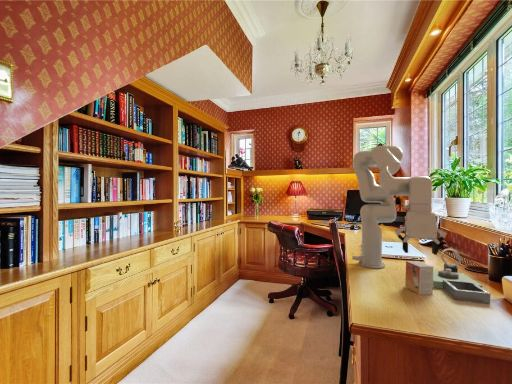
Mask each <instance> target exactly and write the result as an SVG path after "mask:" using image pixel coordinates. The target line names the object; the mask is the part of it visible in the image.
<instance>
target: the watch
mask: <svg viewBox="0 0 512 384" xmlns="http://www.w3.org/2000/svg"><path fill="white" fill-rule="evenodd" d="M447 251H452V254H453V255H454V257H455V258H456V259H457V262H456V263H454V264H452V263H447V260H445V259H444V255H443V254H444V252H447ZM440 258H441V261H443V271H445V269H446V268H447V269H451V272H455V273H459V271H458V266H459V265H460V264H461V263H462V257H461V256H460V253H458V251H457V249H453V248H445V249H443V250H441V252H440Z"/></svg>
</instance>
